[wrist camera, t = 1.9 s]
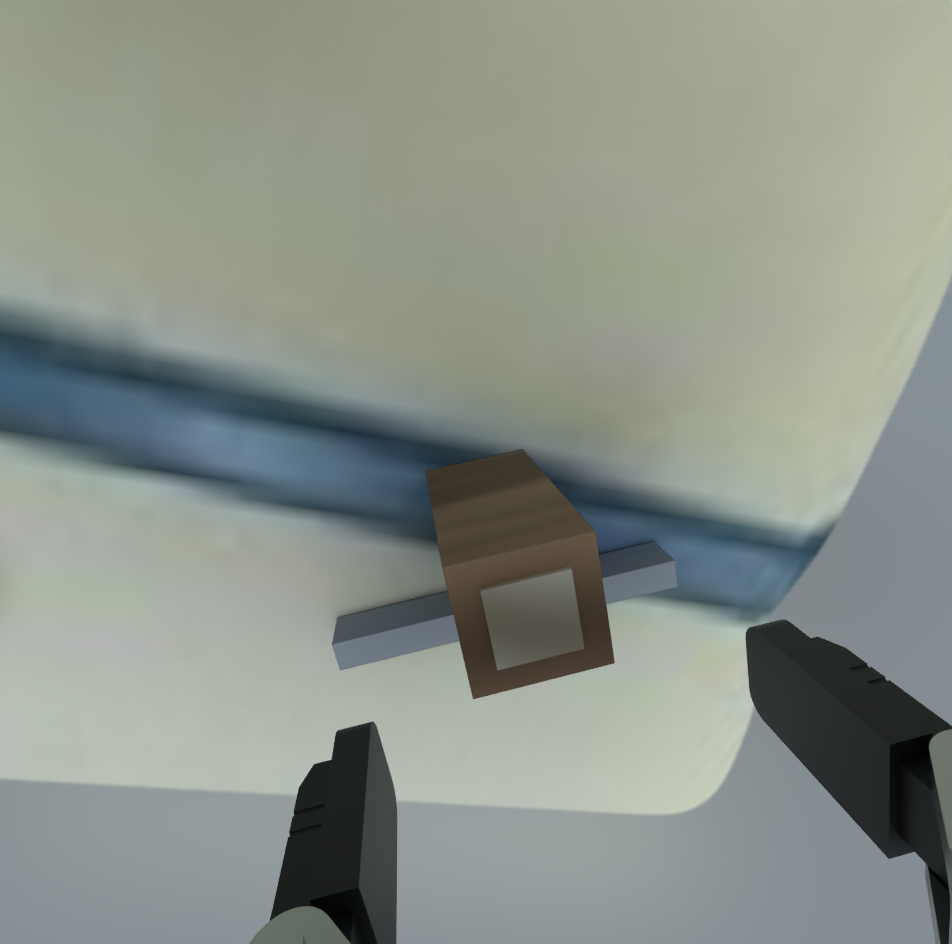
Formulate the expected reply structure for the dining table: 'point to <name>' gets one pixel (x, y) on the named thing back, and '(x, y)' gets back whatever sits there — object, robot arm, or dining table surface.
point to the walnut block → (518, 574)
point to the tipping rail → (434, 618)
